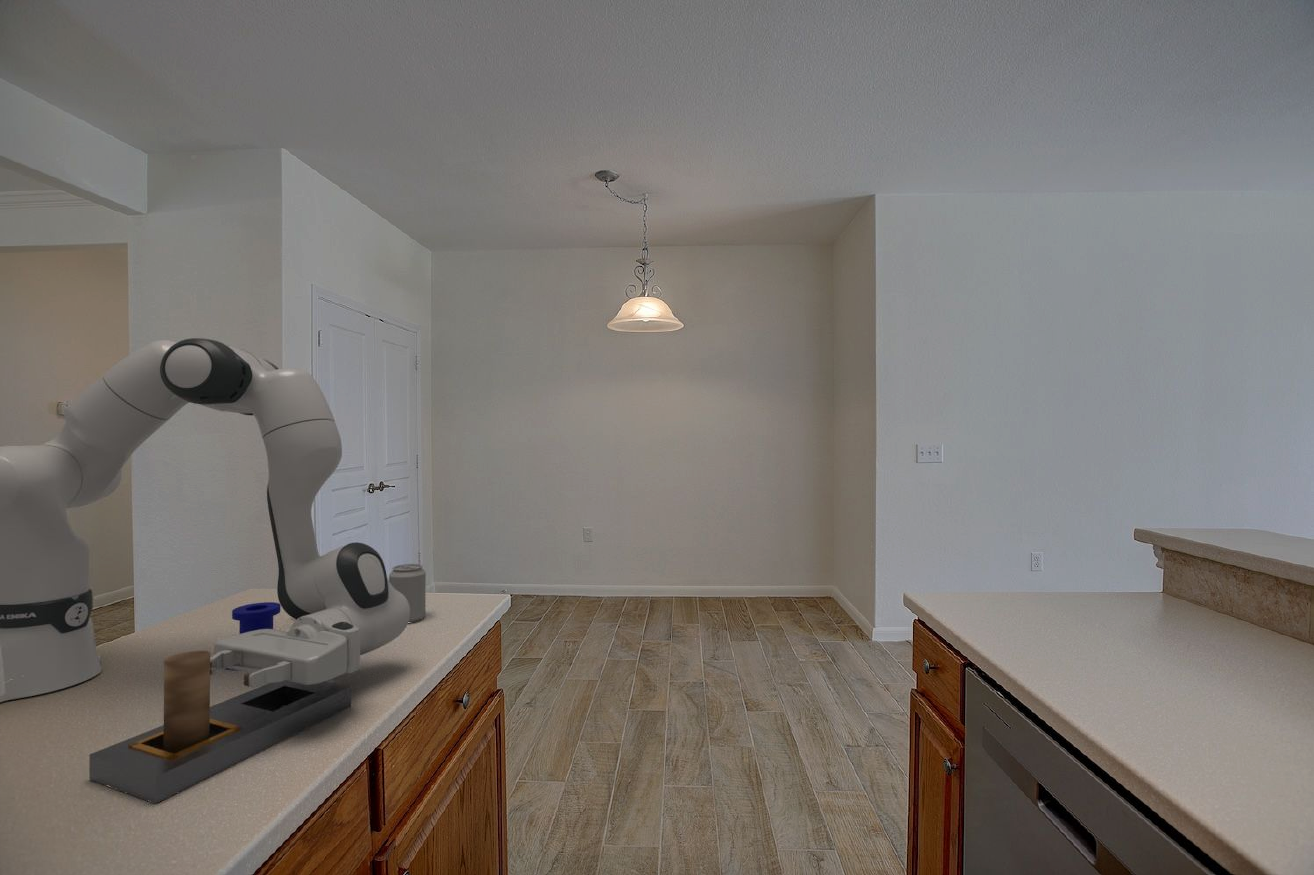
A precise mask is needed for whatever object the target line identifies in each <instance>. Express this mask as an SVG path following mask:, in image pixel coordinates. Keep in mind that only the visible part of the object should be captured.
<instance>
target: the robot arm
mask: <svg viewBox="0 0 1314 875" xmlns="http://www.w3.org/2000/svg"><path fill="white" fill-rule="evenodd" d="M189 403H192V404H194V405H195V404H196V405H200V406H203V407H205V408H208V409H211V410H215V411H217V412H226V413H227V412H229V413H236V414H241V415H244V416H254V417H255V420H256V422H257V425H258V428H259V431H260V434H261V437H262V438H261V439H262V440H263V444H264V447H265V448H264V449H265V452H266V457H267V459H266V460H267V467H268V480H267V485H266V486H267V488H266V500H267V501H266V502H267V509H268V515H269V520H270V527H271V531H272V537H273V543H274V548H275V553H276V558H277V564H278V566H277V567H278V575H277V576H278V577H277V578H278V579H277V587H276V588H277V592H276V593H277V599H278V603H279V604H280V607H281V608H282V610H284V612H285V613H286V614H287V615H288V616H290V617H291V618H293V619H294V621H293V623H292V625H291V626H290V628H289V630H287V631H284V630H280V629H279V630H277V629H274V628H273V629H260V630H254V631H250V632H246V633H242V634H239V633H238V634H234V635H231V636H227V637H224V638H220V639H219V640H217V641H216V642H215V643H214V646H213V647H214V648H213V655H212V656H210V676H212V675H216V674H218V671H219V670H221V669H225V668H229V669H234V670H233V671H237V670H238V671H240V672H244V673H245V674H244V675H243V680H244V681H243V685H244V686H245V687H248V688H251V689H256V688H258V687H261V686H264V685H266V684H269V683H274V682H280V681H285V680H286V681H290V682H295V683H300V684H304V685H311V684H318V683H322V682H325V681H327V682H328V681H331V680H332V679H333V680H334V679H335V678H338V677H340V676H342V675H345V674H346V675H348V674H349V675H350V674H353V673H355V672H357V671H358V670H359V669H360V662H361V661H360V660H361V656H362V655H365V654H368V653H371V652H373V651H375V650H377V649H379V648H382V647H383V646H386V645H388V644H389V643H390V642H392V641H394V640H395V639H397V638H398V637H400V635H401V634H402V633H403V632H404V631H405V629H406V628H407V626H408V624H409V623H408V622H409V618H410V607H409V603H408V601H407V599H406V597H405V596H404V595H403V594H402V593H400V592H398V591H397V590H396V589H395V588H394V587H393V586H392V585H391V583H390V582H389V577H388V576H387V570H386V566H385V563H384V560H383V558H382V556H381V555H380V553H379V552H378V551H377V550H376V549H374V548H373V547H372V546H370V545H368V544H366V543H363V542H350V543H347V544H346V545H343V546H340V547H338V548H336V549H333V550H330V551H328V552H327V553H325V554H323V555H320V553H319V551H318V544H317V539H316V534H315V529H314V524H313V519H312V507H313V503H314V501H315V498H316V496H317V495H318V494H319V491H320V490H321V488H322V487H323V486H324V484H325V483H326V482H327V480H328V479H329V478H330V477H331V476H332V475H333V474H334V473H335V471H336V470H337V468H338V467H339V464H340V462H341V460H342V457H343V456H342V455H343V445H342V439H341V438H342V437H341V435H340V432H339V429H338V426H337V424H336V421H335V417H334V415H333V412H332V411H331V410H332V409H331V408H330V405H329V402H328V401H327V400H326V396H325V395H324V393H323V391H322V389H321V388H320V385H319V383H317V381H316V379H315V378H314V377H313V376H312V374H310V373H309V372H307V371H305V370H303V369H299V368H294V367H284V368H283V367H282V368H279V367H278V366H276V365H275V364H274V363H272V362H271V361H269V360H267V359H264V358H262V357H260V356H258V355H256V354H255V353H253V352H250V351H248V350H247V349H242V348H238V347H235V346H232V345H227V344H224V343H223V342H220V341H218V340H213V339H210V338H203V337H201V338H200V337H199V338H197V337H195V338H185V339H183V340H179V341H178V342H177V341H173V340H168V339H160V340H155V341H152V342H149V343H148V344H146V345H144V346H143V347H140V348H139V349H138V350H136V351H133V352H132V353H130V354H129V355H128V356H126V357H125V358H123V359H121V360H120V361H119V362H117V363H116V364H115V365H113V366H112V367H111V368H109V369H108V370H107V371H105V372H104V373H103V374H102V375H101V376H100V377H99V378H97V379H96V380H94V382H93V383H91V384H90V385H89V386H88V387H87V388H85V389H84V390H83V391H82V392H81V393H80V394H78V395H77V396H76V397H75V398H74V399H73V400H71V401H70V402H69V403H68V404H66V406H65V409H64V412H63V417H64V421H65V423H64V425H63V426H62V427H61V429H60V431H59V433H57V435H56V436H55V437H53V438H52V439H51V440H49V441H47V442H44V443H42V444H37V445H35V444H32V445H29V444H28V445H26V444H25V445H2V446H0V703H3V702H5V701H9V700H17V699H22V698H23V699H24V698H28V697H32V696H37V695H43V694H47V693H51V692H54V691H58V690H62V689H66V688H69V687H72V686H75V685H77V684H80V683H82V682H86V681H87V680H89V679H92V678H93V677H95V676H97V675H99V674H100V673H101V672H102V671H103V668H102V666H101V661H102V660H101V658H102V657H101V654H98V651H97V650H98V649H97V644H96V638H95V629H94V624H93V619H92V618H91V615H92V614H91V613H92V611H93V609H94V608H93V607H94V606H93V601H94V595H93V590H92V589H91V588H90V546H89V545H88V543H87V542H86V541H85V540H84V539H83V538H82V537H80V536H78V535H77V534H76V532H74V530H73V528H72V526H71V523H70V521H69V518H68V516H67V509H73V508H79V507H84V506H87V505H89V504H92V503H95V502H97V501H100V500H102V499H104V498H105V497H108V496H109V495H111V494H113V493H114V492H115V491H116V490H117V488H119V486H120V483H121V480H122V475H123V474H122V472H123V471H122V469H123V468H124V465H126V463H127V461H128V459H130V457H131V456H132V454H134V452H135V451H136V450H137V449H138V448H139V447H140V446H141V445H142V444H143V443H144V442H146V440H147V439H149V438H150V437H151V436H152V435H153V434H154V433H155V432H157V431H158V430H159V429H160V428H161V427H162V426H163V425H164V424H166V423H168V422H167V421H169V420H170V419H171V418H172V417H174V416H175V415H176V414H177V413H178V412H179V411H180V410H181V409H182V408H183V407H184V406H186V405H187V404H189ZM23 675H24V676H23ZM21 676H22V677H21ZM10 679H13V680H10ZM8 680H9V681H8ZM7 681H8V682H7ZM3 682H6V683H3Z"/></svg>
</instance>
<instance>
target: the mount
mask: <svg viewBox="0 0 1314 875" xmlns="http://www.w3.org/2000/svg"><path fill="white" fill-rule="evenodd" d="M280 613H281V604H280V602H274V601H273V602H271V601H269V602H268V601H266V602H256V603H255V602H254V603H250V604H249V603H248V604H244V605H241V606H238V607H235V608H233V609H232V611H231V619H232V620H234V621H239V632H238V634H242V633H246V632H250V631H254V630H260V629H273V630H274V616H277V615H278V614H280ZM224 670H226V671H227V670H228V671H235V670H234V669H229V668H224ZM236 671H239V670H236Z"/></svg>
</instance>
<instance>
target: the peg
mask: <svg viewBox="0 0 1314 875" xmlns="http://www.w3.org/2000/svg"><path fill="white" fill-rule="evenodd" d="M210 658H211V652H210V651H206V650H193V651H185V652H181V653H177V654H173V655H171V656H169V657H167V658H165V659H164V661H163V725H164V740H163V751H167V752H170V753H173V754H175V753H177V752H180V751H182V750H184V749H186V748H189V747H191V746H193V745H195V744H198V743H200V742H202V741H204V740H207V739H209V738H210V707H211V701H210V700H211V699H210V695H211V675H210Z"/></svg>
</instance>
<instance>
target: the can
mask: <svg viewBox="0 0 1314 875" xmlns="http://www.w3.org/2000/svg"><path fill="white" fill-rule="evenodd" d="M426 574H427V573H426V570H424V569H423V565H422V564H420V563H404V564H398V565H394V566H392V571H391V572H390V573H389V575H388V580H389V582H390V583H391V585H392V586H393V587H394V588H395V589H396V590H397V591H398V592H400V593H402V594H403V595H404V596H405V597H406V599H407V601H408V603H409V607H410V618H409V622H414V623H417V622H419V621H421V620H422V619H423V618H424V617H425V616H426V593H427V592H426V586H427V585H426V584H427V583H426V578H427V577H426ZM421 618H422V619H421ZM420 619H421V620H420ZM418 620H419V621H418ZM416 621H417V622H416Z"/></svg>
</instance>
